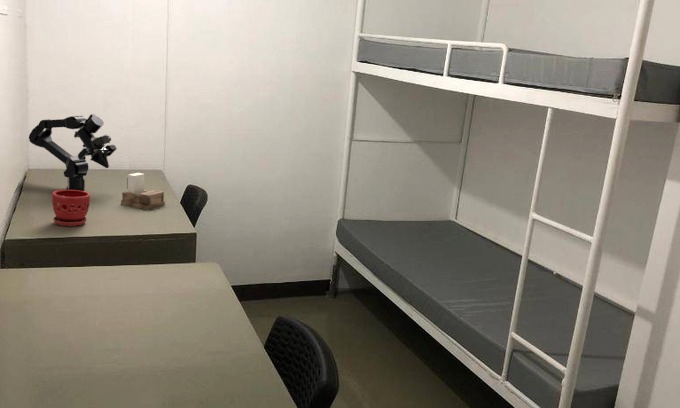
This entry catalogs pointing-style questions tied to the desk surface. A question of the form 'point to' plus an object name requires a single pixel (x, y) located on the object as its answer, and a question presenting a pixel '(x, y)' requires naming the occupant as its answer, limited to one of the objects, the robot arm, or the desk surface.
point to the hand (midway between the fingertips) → (107, 167)
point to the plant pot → (70, 207)
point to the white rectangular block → (135, 183)
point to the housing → (144, 199)
